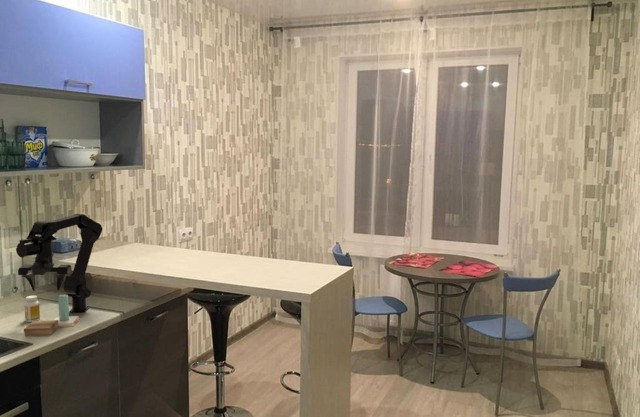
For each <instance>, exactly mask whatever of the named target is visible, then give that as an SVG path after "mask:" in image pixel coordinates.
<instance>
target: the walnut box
mask: <svg viewBox="0 0 640 417" xmlns="http://www.w3.org/2000/svg"><path fill="white" fill-rule="evenodd" d="M57 329H59V327H58V320H54V319H52V320H51V319H50V320H49V319H48V320H47V319H45V320H37V321H32V322H31V323H29V324H28V325H27V326H26V327H25V328H24V329H23V332H24V337H45V336H46V337H49V336H52V334H54V332H56V330H57Z"/></svg>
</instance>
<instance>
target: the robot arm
mask: <svg viewBox="0 0 640 417" xmlns="http://www.w3.org/2000/svg"><path fill="white" fill-rule="evenodd" d="M73 226H76V227H77V228H78V229H79V230H80V233H79V234H80V237H81V243H80V246H79V250H78V252H77V257H76V260H75V263H74V267H73V266H72V265H71V264H60V265H59V266H56V267H54V266H55V264H54V261H53V260H54V258H53V257H54V253H53V242H52V241H57V238H56V237H55V236H53V235H56V234H57V233H58V232H59V231H61V230H63V229H66V228H70V227H73ZM102 232H103V226H102V225H101V223H99V222H97V221H95V220H94V219H91V218H90V217H89V216H87V215H86V214H83V213H74V214H72V215H68V216H66V217H61V218H58V219H53V220H39V221H35V222H33V225H32V227H31V229H30V231H29V232H28V235H27V236H26V239H24V238H23V239H19V243H18V244H17V245H16V247H15V251H16V254H17V256H18V257H20V258H26V257H27V258H28V257H32V256H35V257H34V262H33V263H32V264H24V265H23V266H20V267H19V268H18V269H17V275H18V276H21V277H22V278H24V279H26V281H27V282H28V283H29V285H30V288H31V289H32V291H33V292H36V276H37V275H39V276H45V274H46V273H56V291H60V289H61V286H62V285H63V290H64V293H65V295H68V298H69V297H70V298H71V309H69V313H85V312H87V310H89V308H90V306H87V298H90V297H91V294H92V291H91V290H90V289H89V288H88V287H87V278H86V272H87V268H88V265H89V262H90V258H91V255H92V251H93V249H94V248H93V247H94V246H95V245H94V244H95V243H96V242H97V241H98V240H99V238H100V237H101V234H102ZM72 268H73V269H72ZM72 270H73V271H72ZM70 273H71V274H70ZM64 278H65V279H64ZM63 281H64V283H63Z"/></svg>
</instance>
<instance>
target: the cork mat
mask: <svg viewBox="0 0 640 417" xmlns="http://www.w3.org/2000/svg"><path fill="white" fill-rule="evenodd" d="M80 320H82V317H80V316H79V318H78V319H77V320H76V321H75V322H74V324H73V325H58V328H64V327H65V328H70V327H74V326H76V324H77V323H78V322H79V321H80Z"/></svg>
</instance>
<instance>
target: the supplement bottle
mask: <svg viewBox="0 0 640 417" xmlns="http://www.w3.org/2000/svg"><path fill="white" fill-rule="evenodd" d="M23 307H24V320H25V322H28V323H29V322H31V323H32V322H33V321H40V319H41V313H40V312H41V310H40V301H38V296H37V295H29V296H26V297H25V302H24V306H23Z"/></svg>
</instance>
